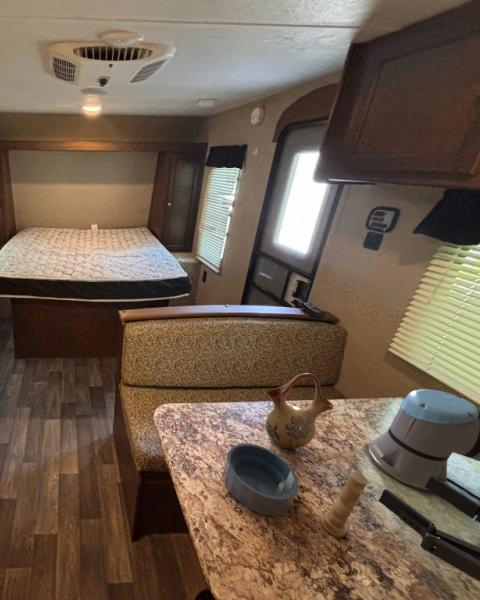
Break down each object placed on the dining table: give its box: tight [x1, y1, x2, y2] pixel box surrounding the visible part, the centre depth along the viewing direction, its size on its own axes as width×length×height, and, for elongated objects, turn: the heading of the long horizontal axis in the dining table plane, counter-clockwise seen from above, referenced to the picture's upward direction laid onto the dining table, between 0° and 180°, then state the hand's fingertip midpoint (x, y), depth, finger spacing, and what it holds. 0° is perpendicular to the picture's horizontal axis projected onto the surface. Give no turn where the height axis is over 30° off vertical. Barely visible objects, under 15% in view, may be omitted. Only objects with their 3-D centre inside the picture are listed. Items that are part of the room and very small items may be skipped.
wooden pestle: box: [320, 471, 368, 538], centre depth 69 cm, size 4×4×16 cm
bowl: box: [222, 442, 300, 517], centre depth 79 cm, size 16×16×6 cm
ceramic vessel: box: [265, 372, 335, 450], centre depth 89 cm, size 16×9×25 cm, turn 74°
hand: (406, 487), depth 59 cm, fingers open, 13 cm apart
